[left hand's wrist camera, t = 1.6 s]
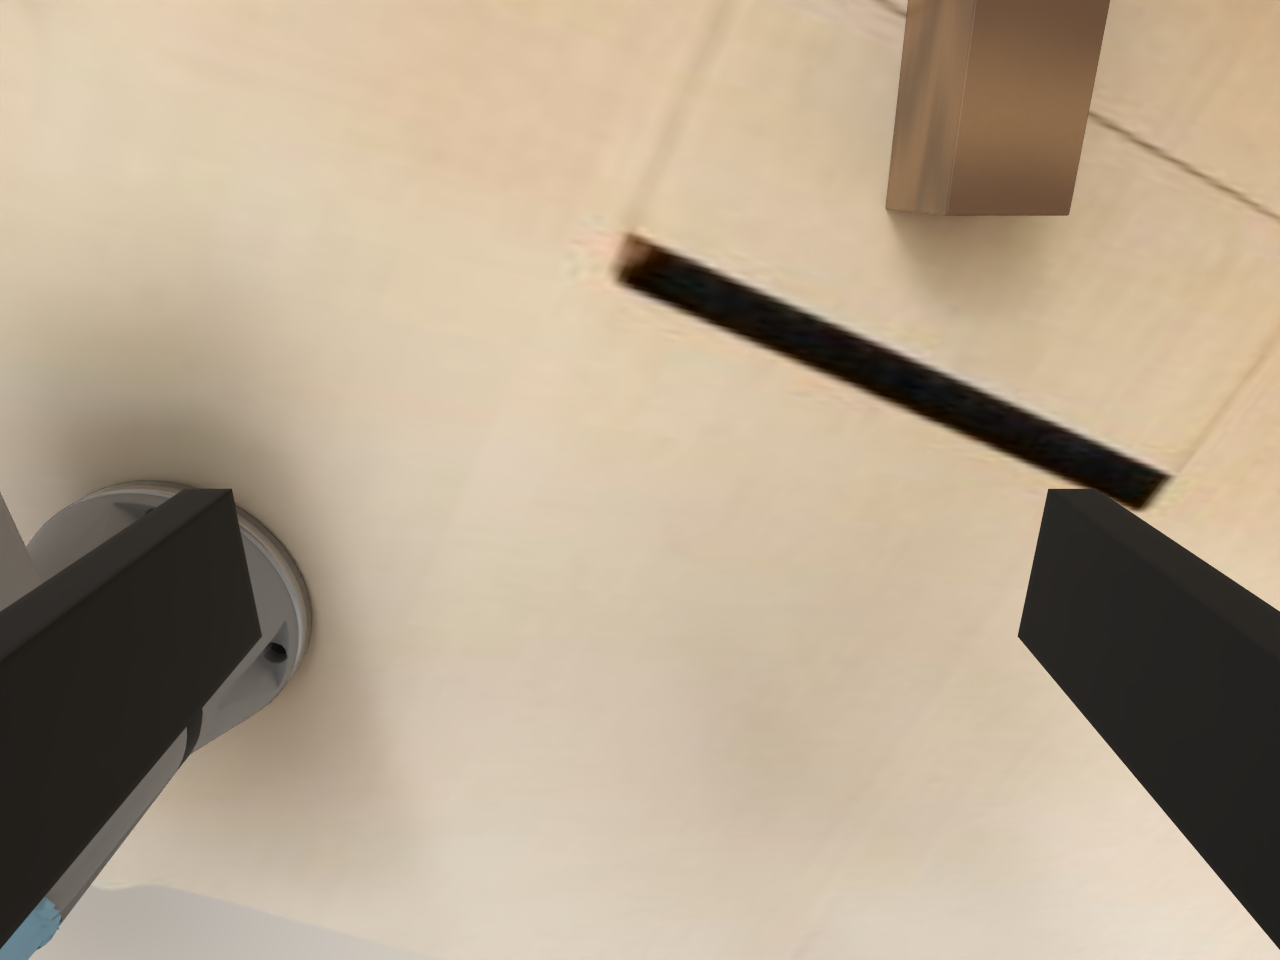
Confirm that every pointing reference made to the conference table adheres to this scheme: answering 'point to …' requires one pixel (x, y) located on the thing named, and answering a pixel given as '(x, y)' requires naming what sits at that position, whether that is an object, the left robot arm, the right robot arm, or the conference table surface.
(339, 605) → the conference table surface
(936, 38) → the bar
